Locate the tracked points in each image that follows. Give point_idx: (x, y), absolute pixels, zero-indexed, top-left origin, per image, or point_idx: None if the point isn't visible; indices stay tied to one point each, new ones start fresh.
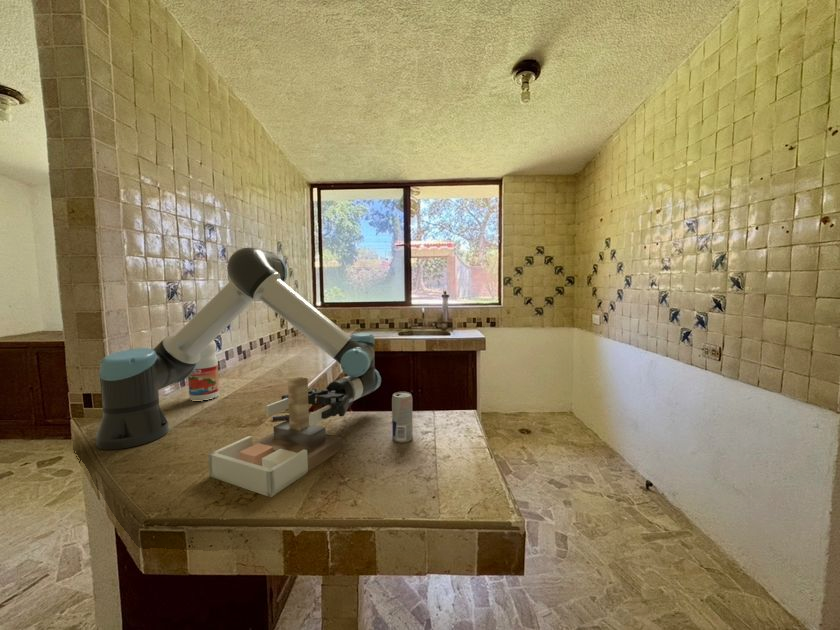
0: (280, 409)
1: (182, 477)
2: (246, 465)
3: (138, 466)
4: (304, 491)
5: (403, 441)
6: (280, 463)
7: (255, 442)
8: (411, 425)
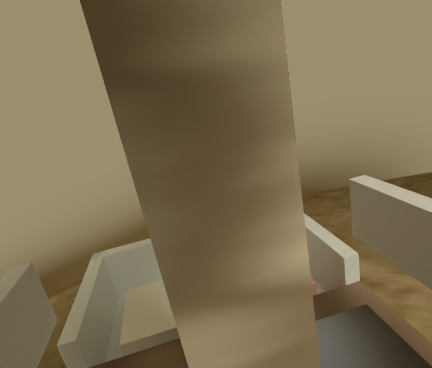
0: (425, 267)
1: (326, 224)
2: None
3: (426, 189)
4: (43, 355)
5: None
6: (94, 272)
7: (363, 295)
8: None
